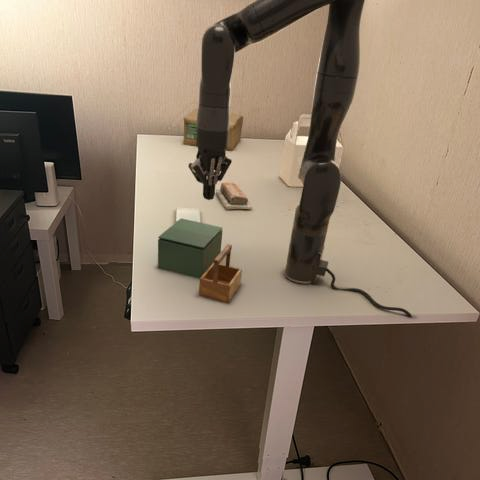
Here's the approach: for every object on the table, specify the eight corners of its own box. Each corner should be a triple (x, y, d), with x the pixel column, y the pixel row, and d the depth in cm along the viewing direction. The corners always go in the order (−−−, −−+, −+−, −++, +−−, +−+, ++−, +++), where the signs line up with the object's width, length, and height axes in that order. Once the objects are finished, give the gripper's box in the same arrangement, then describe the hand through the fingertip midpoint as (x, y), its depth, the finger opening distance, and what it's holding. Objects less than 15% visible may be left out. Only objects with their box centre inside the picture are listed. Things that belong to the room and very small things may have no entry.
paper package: (181, 144, 239) (182, 115, 231) (194, 134, 260) (195, 107, 252) (232, 152, 237) (235, 123, 229) (241, 141, 258) (243, 114, 250)
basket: (212, 278, 126) (215, 241, 120) (240, 285, 124) (244, 247, 118) (198, 295, 118) (200, 256, 111) (228, 303, 116) (232, 263, 110)
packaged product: (216, 181, 180) (240, 181, 183) (215, 193, 183) (239, 193, 185) (226, 197, 166) (253, 197, 168) (225, 210, 168) (251, 210, 171)
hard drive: (200, 222, 153) (199, 208, 163) (175, 221, 152) (176, 207, 162) (200, 227, 154) (199, 212, 164) (175, 225, 153) (176, 211, 163)
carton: (180, 247, 140) (180, 218, 134) (220, 256, 137) (222, 227, 132) (158, 268, 128) (157, 236, 122) (201, 278, 125) (203, 247, 120)
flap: (180, 219, 135) (180, 218, 134) (222, 228, 132) (222, 227, 132) (170, 228, 129) (170, 227, 129) (213, 238, 126) (213, 237, 126)
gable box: (287, 186, 199) (298, 117, 183) (278, 176, 209) (288, 110, 194) (335, 187, 204) (350, 120, 188) (324, 178, 214) (337, 113, 199)
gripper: (203, 132, 101) (199, 208, 111) (243, 127, 109) (237, 198, 119) (180, 125, 105) (178, 199, 114) (221, 120, 113) (216, 189, 123)
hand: (208, 198), depth 117 cm, fingers closed
